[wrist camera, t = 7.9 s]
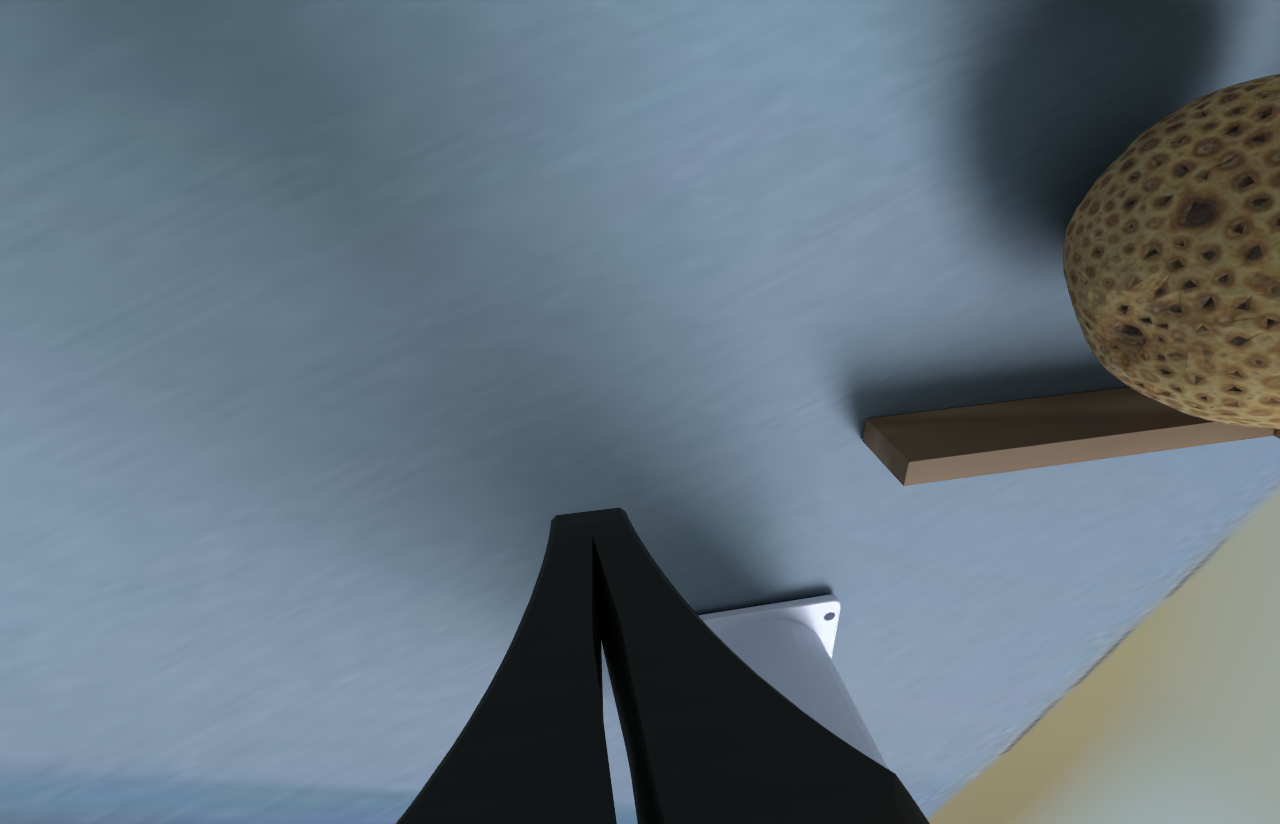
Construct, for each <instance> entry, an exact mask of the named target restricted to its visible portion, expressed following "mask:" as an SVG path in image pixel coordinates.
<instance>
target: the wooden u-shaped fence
mask: <svg viewBox="0 0 1280 824" xmlns="http://www.w3.org/2000/svg"><path fill="white" fill-rule="evenodd" d="M1273 435H1274V436H1276V437H1278V438H1280V429H1273V428H1257V427H1247V426H1238V425H1231V424H1225V423H1218V422H1214V421H1210V420H1206V419H1202V418H1198V417H1195V416H1191V415H1188V414H1186V413H1183V412H1181V411H1178V410H1176V409H1174V408H1171V407H1169V406H1167V405H1165V404H1163V403H1160V402H1158V401H1156V400H1153V399H1151V398H1149V397H1147V396H1145V395H1143V394H1141V393H1139V392H1137V391H1135V390H1134V389H1132V388H1131V387H1124V388H1116V389H1107V390H1099V391H1091V392H1082V393H1074V394H1066V395H1058V396H1049V397H1041V398H1033V399H1024V400H1016V401H1008V402H1000V403H991V404H983V405H975V406H966V407H958V408H950V409H942V410H933V411H925V412H917V413H908V414H900V415H892V416H884V417H875V418H867V419H866V422H865V428H864V434H863V440H862V441H863V442H864V443H865V444H866V445H867V446H868V447H869V449H870V450H871V451H872V452H873V453H874V454H875V455H876V456H877V457H878V458H879V460H880V461H881V462H882V463H883V464H884V465H885V466H886V467H887V468H888V469H889V470H890V472H891V473H892V474H893V475H894V476H895V477H896V478H897V479H898V480H899V481H900V482H901V484H902V485H903V486H907V485H914V484H922V483H929V482H936V481H944V480H951V479H958V478H966V477H973V476H980V475H988V474H995V473H1002V472H1010V471H1017V470H1024V469H1032V468H1039V467H1046V466H1054V465H1061V464H1068V463H1076V462H1083V461H1090V460H1098V459H1105V458H1112V457H1119V456H1127V455H1134V454H1141V453H1149V452H1156V451H1163V450H1171V449H1178V448H1185V447H1193V446H1200V445H1207V444H1215V443H1222V442H1229V441H1237V440H1244V439H1251V438H1259V437H1266V436H1273Z"/></svg>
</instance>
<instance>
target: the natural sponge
mask: <svg viewBox="0 0 1280 824" xmlns="http://www.w3.org/2000/svg"><path fill="white" fill-rule="evenodd" d="M1063 264H1064V275H1065V279H1066V283H1067V287H1068V291H1069V295H1070V298H1071V301H1072V305H1073V307H1074V310H1075V313H1076V317H1077V319H1078V322H1079V324H1080V326H1081V329H1082V331H1083V333H1084V336H1085V339H1086V341H1087V343H1088V345H1089V347H1090V349H1091V350H1092V352H1093V353H1094V355H1095V356H1096V358H1097V359H1098V360H1099V362H1100V363H1101V364H1102V366H1103V367H1104V368H1105V369H1107V370H1108V371H1109V372H1110V373H1111V374H1112V375H1114V376H1115V377H1116V378H1117V379H1119V380H1120V381H1122V382H1123V383H1125V384H1126V385H1128V386H1129V387H1131V388H1132V389H1134V390H1135V391H1137V392H1139V393H1141V394H1143V395H1145V396H1147V397H1149V398H1151V399H1153V400H1156V401H1158V402H1160V403H1163V404H1165V405H1167V406H1169V407H1171V408H1174V409H1176V410H1178V411H1181V412H1183V413H1186V414H1188V415H1191V416H1195V417H1198V418H1202V419H1206V420H1210V421H1214V422H1218V423H1225V424H1231V425H1238V426H1247V427H1257V428H1273V429H1280V74H1278V75H1272V76H1267V77H1262V78H1258V79H1255V80H1251V81H1247V82H1243V83H1239V84H1236V85H1233V86H1229V87H1226V88H1224V89H1221V90H1218V91H1215V92H1213V93H1211V94H1209V95H1206V96H1203V97H1200V98H1197V99H1195V100H1193V101H1192V102H1190V103H1188V104H1186V105H1184V106H1183V107H1181V108H1179V109H1177V110H1175V111H1174V112H1172V113H1170V114H1169V115H1168V116H1166V117H1165V118H1164V119H1162V120H1161V121H1159V122H1158V123H1157V124H1155V125H1153V126H1152V127H1150V128H1149V129H1147V130H1146V131H1144V132H1143V133H1141V134H1140V135H1139V136H1138V137H1137V138H1136V139H1135V140H1134V141H1133V142H1132V143H1131V144H1130V145H1129V146H1128V147H1127V148H1126V149H1125V150H1124V151H1123V152H1122V153H1121V154H1120V155H1119V156H1118V157H1117V158H1116V159H1115V160H1114V161H1113V163H1112V164H1111V165H1110V166H1109V167H1108V168H1107V169H1106V170H1105V171H1104V173H1103V174H1102V175H1101V176H1100V177H1099V178H1098V179H1097V180H1096V182H1095V183H1094V184H1093V186H1092V187H1091V189H1090V190H1089V192H1088V193H1087V194H1086V196H1085V197H1084V199H1083V200H1082V202H1081V203H1080V204H1079V206H1078V207H1077V209H1076V210H1075V212H1074V214H1073V216H1072V219H1071V221H1070V223H1069V225H1068V227H1067V229H1066V233H1065V241H1064V249H1063Z"/></svg>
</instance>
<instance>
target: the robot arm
mask: <svg viewBox="0 0 1280 824" xmlns="http://www.w3.org/2000/svg"><path fill="white" fill-rule="evenodd" d="M840 608H841V603H840V601H839V600H838V598H837V597H836V596H834V595H824V596H818V597H812V598H805V599H799V600H793V601H786V602H780V603H774V604H767V605H761V606H755V607H748V608H742V609H736V610H729V611H723V612H717V613H710V614H704V615H697V614H696V613H695V611H694V610H693V609H692V608H691V607H690V606H689V604H688V603H687V602H686V601H685V600H684V599H683V597H682V596H681V595H680V594H679V593H678V591H677V590H676V589H675V588H674V586H673V585H672V584H671V582H670V581H669V580H668V578H667V577H666V576H665V574H664V573H663V572H662V570H661V569H660V568H659V566H658V565H657V564H656V562H655V561H654V559H653V558H652V557H651V555H650V554H649V552H648V551H647V549H646V547H645V546H644V544H643V543H642V541H641V540H640V538H639V536H638V535H637V533H636V531H635V530H634V528H633V526H632V524H631V522H630V520H629V518H628V516H627V514H626V512H625V511H624V510H622V509H621V508H613V509H605V510H597V511H588V512H580V513H572V514H564V515H556V516H555V518H554V519H553V520H552V521H551V529H550V535H549V540H548V545H547V549H546V553H545V556H544V560H543V563H542V567H541V570H540V573H539V576H538V578H537V581H536V584H535V587H534V590H533V593H532V596H531V598H530V601H529V603H528V606H527V608H526V611H525V613H524V615H523V618H522V620H521V622H520V624H519V627H518V629H517V631H516V634H515V636H514V638H513V640H512V643H511V645H510V647H509V649H508V651H507V653H506V655H505V657H504V659H503V661H502V663H501V665H500V667H499V669H498V670H497V672H496V674H495V676H494V678H493V680H492V682H491V684H490V685H489V687H488V689H487V691H486V692H485V694H484V696H483V697H482V699H481V701H480V702H479V704H478V706H477V708H476V709H475V711H474V713H473V714H472V716H471V718H470V719H469V721H468V723H467V724H466V726H465V727H464V729H463V731H462V732H461V734H460V735H459V737H458V738H457V740H456V741H455V743H454V744H453V746H452V747H451V749H450V750H449V752H448V753H447V754H446V756H445V757H444V759H443V760H442V762H441V763H440V764H439V766H438V767H437V769H436V770H435V772H434V773H433V774H432V776H431V777H430V779H429V780H428V782H427V783H426V784H425V786H424V787H423V789H422V790H421V791H420V793H419V794H418V796H417V797H416V798H415V800H414V801H413V802H412V804H411V805H410V806H409V808H408V809H407V810H406V812H405V813H404V814H403V815H402V817H401V818H400V819H399V820H398V822H397V823H396V824H617V823H616V815H615V808H614V800H613V793H612V785H611V777H610V770H609V762H608V754H607V746H606V739H605V731H604V723H603V691H602V656H601V641H602V645H603V650H604V654H605V658H606V663H607V667H608V672H609V676H610V681H611V685H612V689H613V694H614V698H615V702H616V707H617V711H618V716H619V720H620V724H621V729H622V733H623V737H624V742H625V746H626V751H627V756H628V762H629V767H630V772H631V779H632V786H633V793H634V800H635V807H636V814H637V822H638V824H929V822H928V820H927V819H926V817H925V816H924V814H923V813H922V811H921V810H920V809H919V807H918V806H917V804H916V803H915V801H914V800H913V798H912V797H911V795H910V794H909V792H908V791H907V790H906V788H905V787H904V785H903V784H902V782H901V781H900V780H899V778H898V777H897V776H896V774H895V773H893V772H891V771H890V770H889V769H888V767H887V765H886V763H885V761H884V760H883V758H882V756H881V754H880V752H879V750H878V748H877V746H876V744H875V742H874V740H873V738H872V736H871V735H870V733H869V731H868V729H867V727H866V725H865V723H864V721H863V719H862V717H861V715H860V713H859V712H858V710H857V708H856V706H855V704H854V702H853V700H852V698H851V696H850V694H849V692H848V690H847V689H846V687H845V685H844V683H843V681H842V679H841V677H840V675H839V673H838V671H837V669H836V667H835V666H834V664H833V662H832V660H831V658H832V653H833V647H834V641H835V636H836V630H837V625H838V619H839V614H840Z"/></svg>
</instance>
